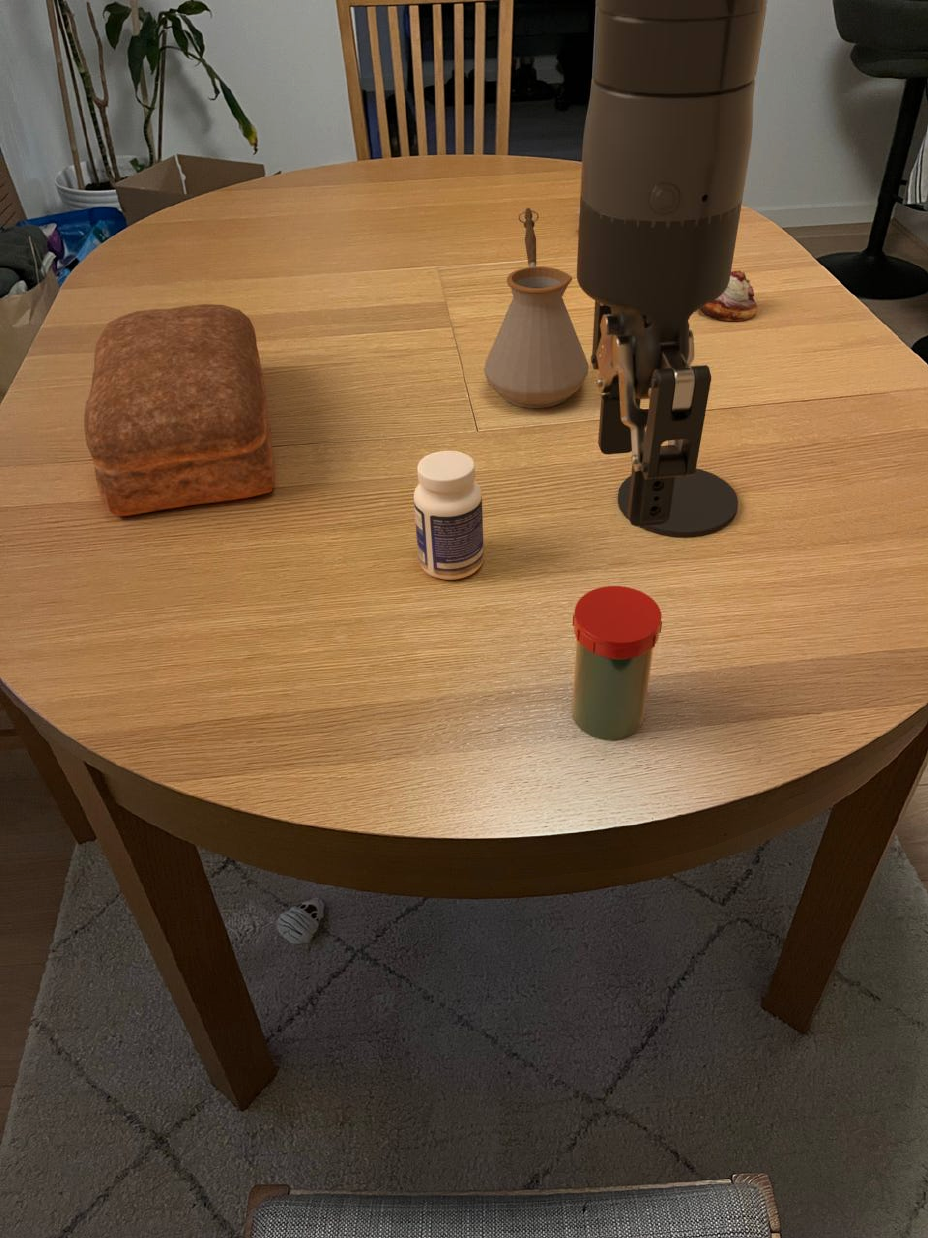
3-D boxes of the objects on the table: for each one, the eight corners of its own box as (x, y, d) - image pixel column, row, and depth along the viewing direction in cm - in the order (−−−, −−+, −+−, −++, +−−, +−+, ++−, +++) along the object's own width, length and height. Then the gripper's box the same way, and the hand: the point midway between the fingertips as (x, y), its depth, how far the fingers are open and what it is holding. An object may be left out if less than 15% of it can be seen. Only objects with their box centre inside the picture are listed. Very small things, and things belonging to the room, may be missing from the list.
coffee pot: (593, 415, 100) (602, 276, 90) (486, 419, 100) (483, 281, 90) (573, 329, 116) (578, 203, 106) (480, 332, 116) (478, 207, 106)
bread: (264, 365, 111) (246, 270, 103) (281, 501, 89) (260, 393, 82) (118, 384, 109) (88, 288, 101) (99, 528, 87) (60, 419, 80)
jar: (652, 698, 69) (666, 604, 62) (632, 748, 65) (644, 654, 59) (584, 679, 70) (592, 586, 64) (561, 727, 67) (567, 633, 61)
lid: (668, 614, 63) (671, 597, 62) (646, 668, 59) (648, 651, 58) (588, 594, 65) (590, 577, 64) (562, 646, 61) (562, 629, 60)
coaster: (747, 483, 89) (749, 478, 89) (723, 548, 82) (724, 542, 81) (636, 461, 93) (636, 456, 92) (602, 521, 85) (603, 516, 85)
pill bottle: (496, 554, 82) (494, 457, 75) (461, 590, 79) (457, 491, 72) (441, 535, 84) (435, 439, 78) (405, 569, 81) (396, 472, 74)
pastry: (768, 315, 117) (776, 275, 113) (719, 327, 115) (726, 287, 111) (729, 292, 122) (735, 254, 119) (681, 304, 120) (686, 266, 117)
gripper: (796, 234, 38) (732, 552, 49) (695, 139, 49) (661, 418, 60) (617, 248, 38) (593, 565, 49) (554, 148, 49) (546, 428, 60)
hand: (631, 483), depth 54 cm, fingers open, 7 cm apart
